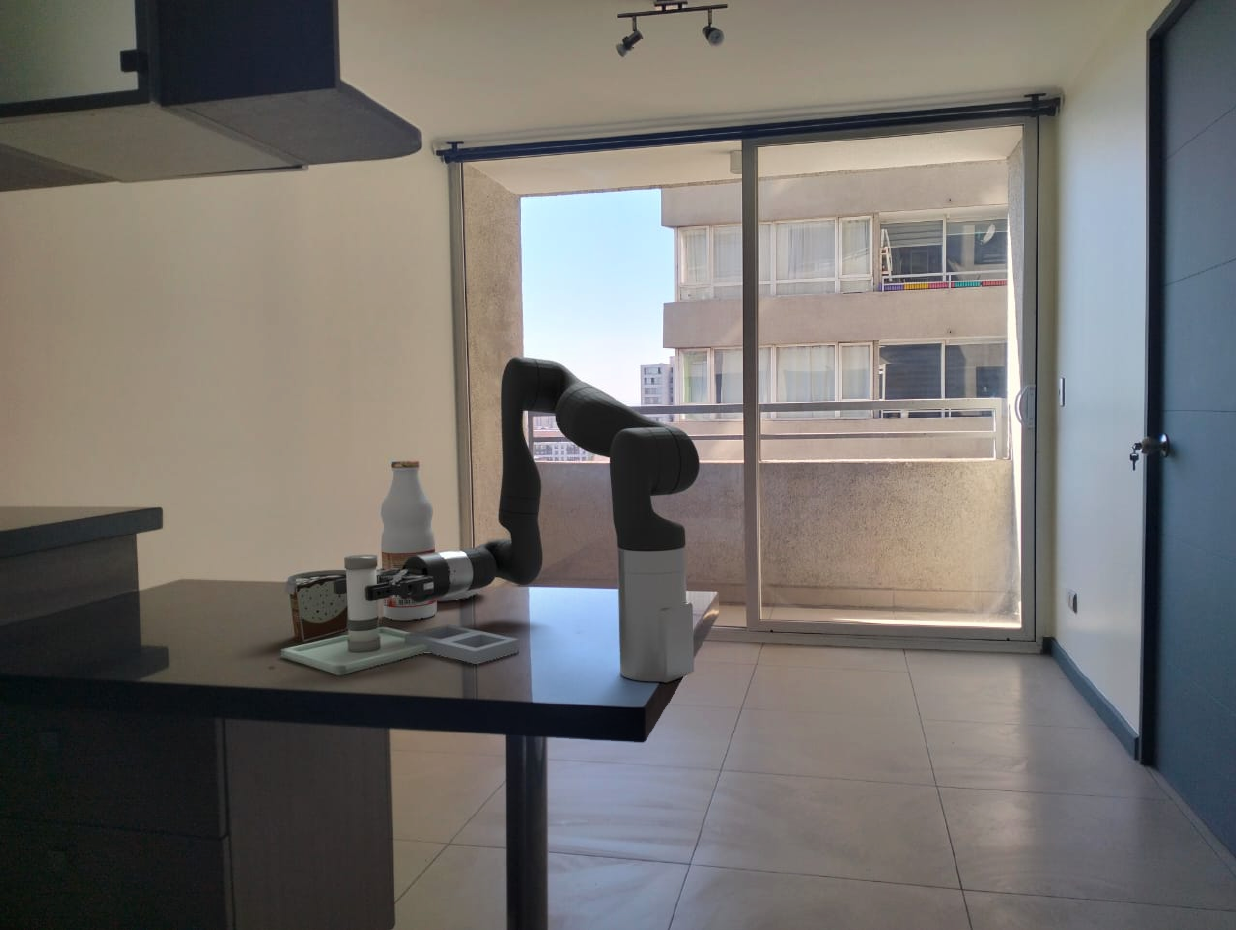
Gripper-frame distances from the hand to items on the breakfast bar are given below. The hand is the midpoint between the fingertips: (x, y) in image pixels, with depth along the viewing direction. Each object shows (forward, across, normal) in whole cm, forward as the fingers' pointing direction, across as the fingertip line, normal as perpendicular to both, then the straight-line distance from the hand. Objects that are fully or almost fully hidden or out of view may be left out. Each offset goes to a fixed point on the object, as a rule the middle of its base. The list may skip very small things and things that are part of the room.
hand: (350, 590), depth 131 cm
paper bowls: (-37, -24, +10) cm, 45 cm away
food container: (-4, -18, +10) cm, 21 cm away
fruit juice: (-22, -16, +10) cm, 29 cm away
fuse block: (-12, +11, +10) cm, 19 cm away
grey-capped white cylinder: (-2, 0, +9) cm, 9 cm away
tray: (-2, 0, +10) cm, 10 cm away
